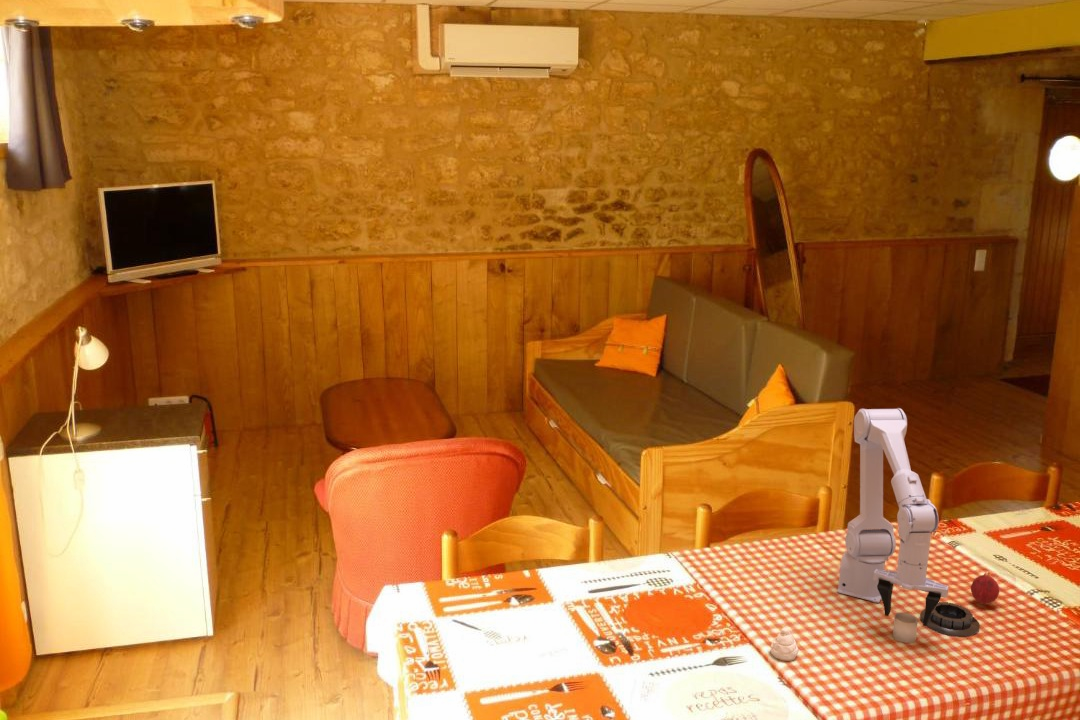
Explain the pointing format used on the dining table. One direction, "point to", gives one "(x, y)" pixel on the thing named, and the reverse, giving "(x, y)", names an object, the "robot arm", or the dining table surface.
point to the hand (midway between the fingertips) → (906, 619)
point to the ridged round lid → (952, 620)
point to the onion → (985, 589)
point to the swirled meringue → (784, 646)
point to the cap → (905, 627)
